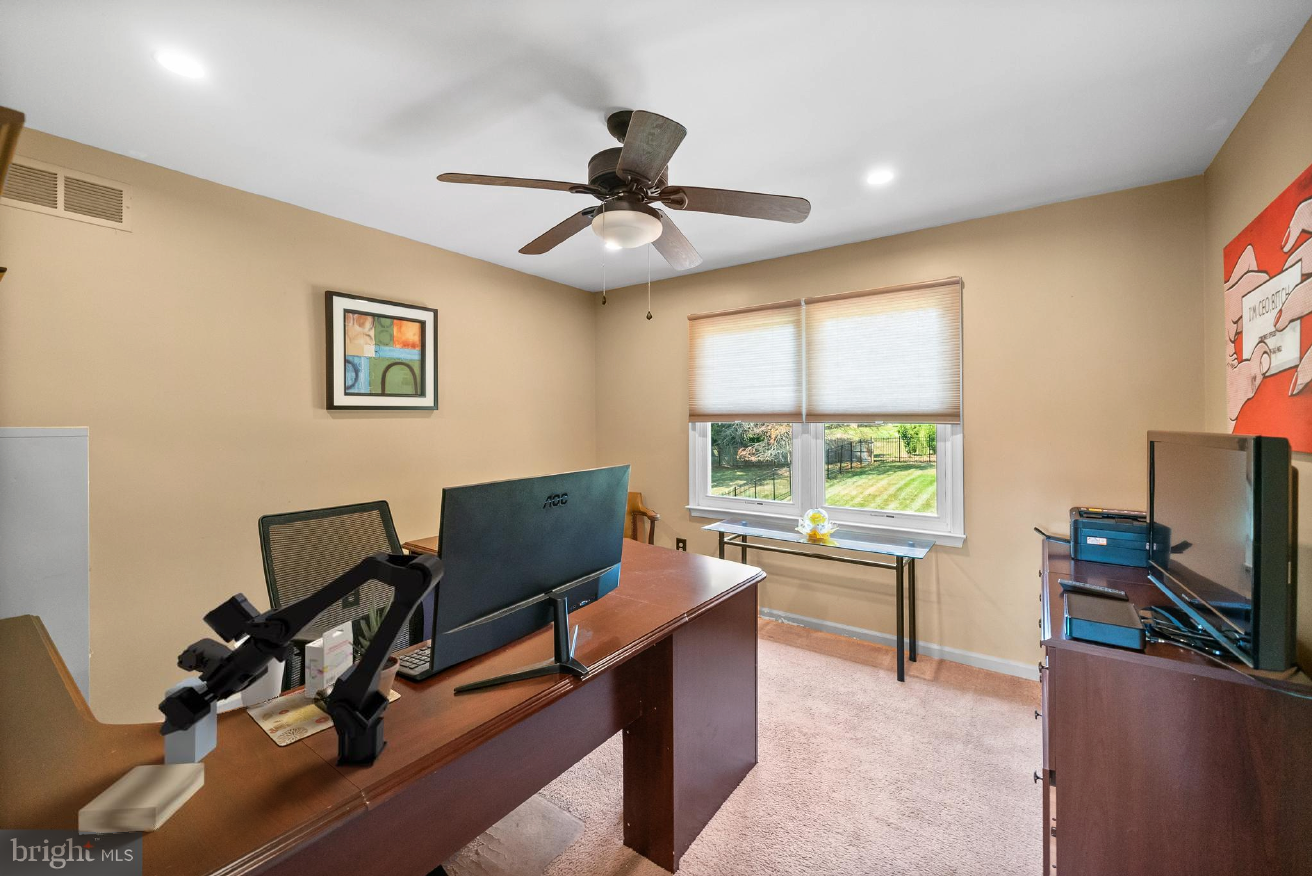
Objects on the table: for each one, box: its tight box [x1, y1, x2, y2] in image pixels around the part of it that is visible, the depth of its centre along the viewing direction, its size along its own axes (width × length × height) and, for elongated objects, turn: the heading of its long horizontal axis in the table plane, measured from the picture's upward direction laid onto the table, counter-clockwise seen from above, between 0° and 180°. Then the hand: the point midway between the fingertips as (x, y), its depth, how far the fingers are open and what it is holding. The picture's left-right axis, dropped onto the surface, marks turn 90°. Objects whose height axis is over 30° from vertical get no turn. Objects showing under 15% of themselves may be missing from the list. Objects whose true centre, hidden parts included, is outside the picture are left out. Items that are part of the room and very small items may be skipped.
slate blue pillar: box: [164, 677, 218, 765], centre depth 94 cm, size 5×5×13 cm
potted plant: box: [349, 585, 400, 698], centre depth 116 cm, size 10×10×25 cm
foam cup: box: [233, 635, 290, 708], centre depth 113 cm, size 10×9×13 cm
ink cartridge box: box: [304, 620, 354, 699], centre depth 118 cm, size 9×5×15 cm, turn 168°
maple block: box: [78, 762, 205, 833], centre depth 82 cm, size 10×10×4 cm
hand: (184, 718), depth 94 cm, fingers open, 9 cm apart
